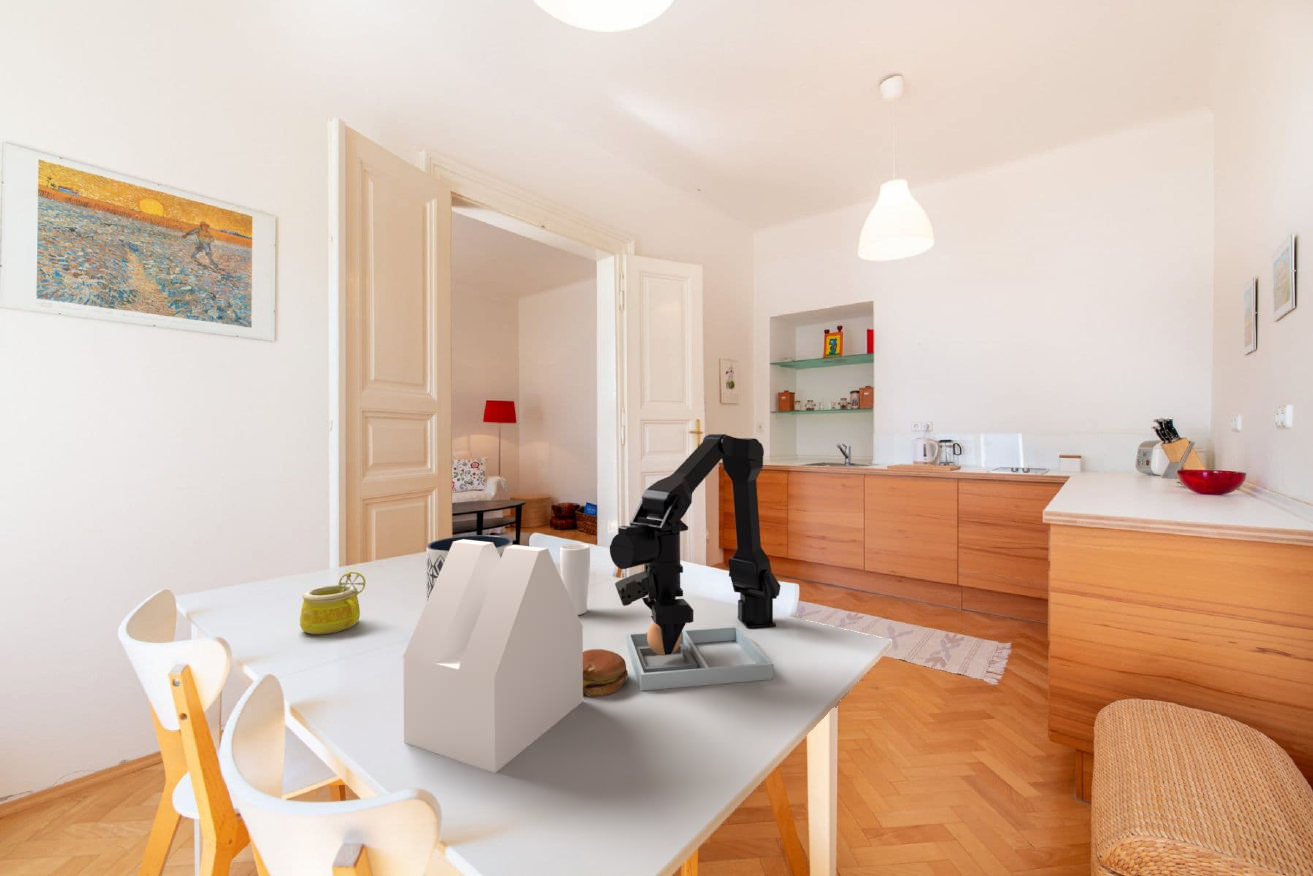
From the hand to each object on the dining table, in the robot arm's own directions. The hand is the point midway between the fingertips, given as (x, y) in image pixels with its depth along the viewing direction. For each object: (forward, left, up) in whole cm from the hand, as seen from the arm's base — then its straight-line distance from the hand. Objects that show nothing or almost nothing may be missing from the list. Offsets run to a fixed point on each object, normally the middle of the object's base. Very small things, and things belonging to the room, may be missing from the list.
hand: (664, 647), depth 95 cm
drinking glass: (+15, -31, -3) cm, 34 cm away
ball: (0, 0, -1) cm, 1 cm away
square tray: (0, 0, -3) cm, 3 cm away
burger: (+12, +5, -3) cm, 14 cm away
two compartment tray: (-5, 0, -3) cm, 6 cm away
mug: (+65, -30, -3) cm, 71 cm away
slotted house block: (+27, +14, -3) cm, 30 cm away
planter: (+38, -33, -3) cm, 50 cm away
